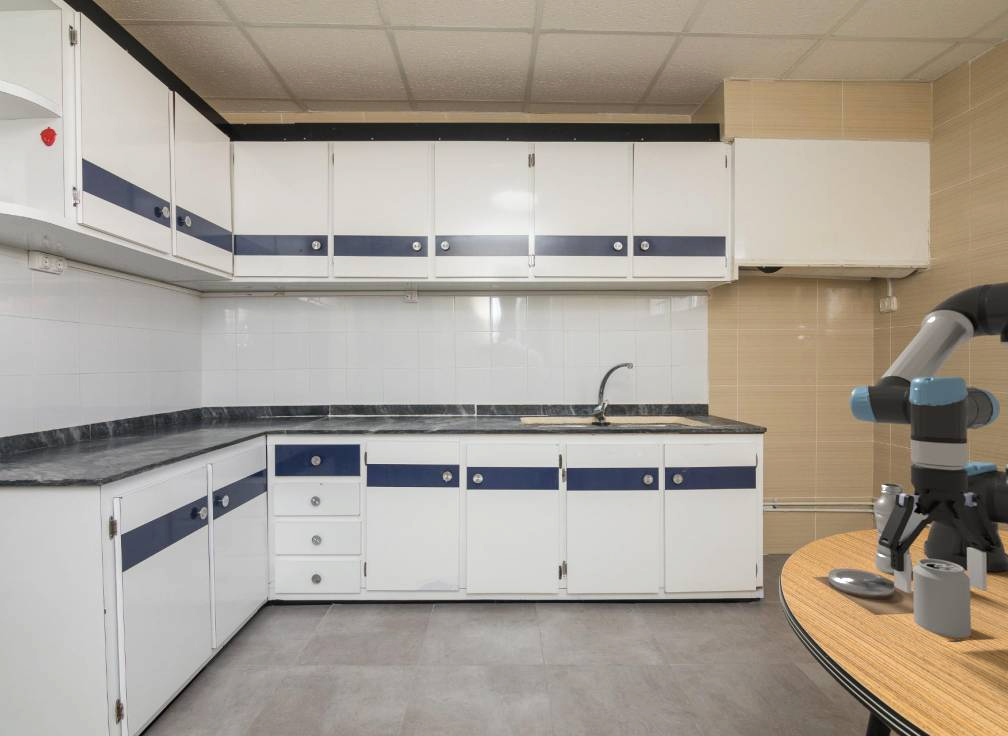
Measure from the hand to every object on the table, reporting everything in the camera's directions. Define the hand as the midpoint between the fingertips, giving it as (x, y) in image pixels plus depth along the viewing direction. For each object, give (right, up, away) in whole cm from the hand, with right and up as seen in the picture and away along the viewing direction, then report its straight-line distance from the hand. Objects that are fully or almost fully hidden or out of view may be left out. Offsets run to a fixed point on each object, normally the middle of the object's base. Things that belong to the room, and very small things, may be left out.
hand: (939, 588), depth 88 cm
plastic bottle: (+11, -8, +25) cm, 28 cm away
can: (0, -8, 0) cm, 8 cm away
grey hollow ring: (-3, -7, +16) cm, 17 cm away
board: (-1, -8, +14) cm, 16 cm away
